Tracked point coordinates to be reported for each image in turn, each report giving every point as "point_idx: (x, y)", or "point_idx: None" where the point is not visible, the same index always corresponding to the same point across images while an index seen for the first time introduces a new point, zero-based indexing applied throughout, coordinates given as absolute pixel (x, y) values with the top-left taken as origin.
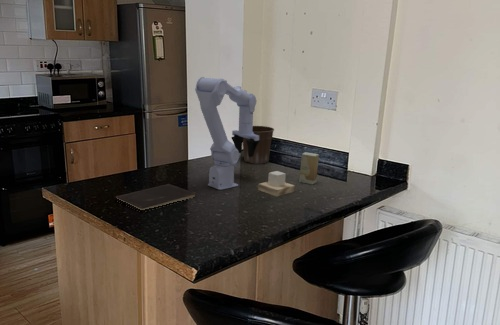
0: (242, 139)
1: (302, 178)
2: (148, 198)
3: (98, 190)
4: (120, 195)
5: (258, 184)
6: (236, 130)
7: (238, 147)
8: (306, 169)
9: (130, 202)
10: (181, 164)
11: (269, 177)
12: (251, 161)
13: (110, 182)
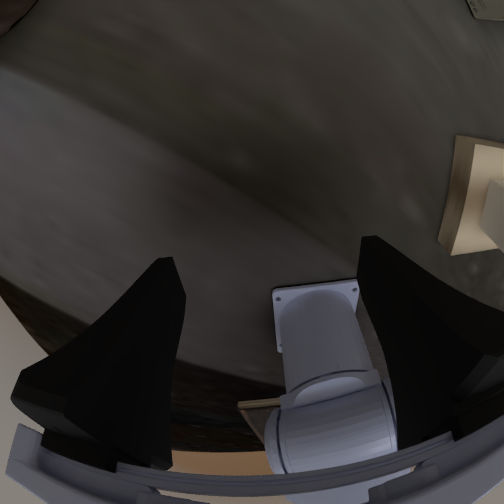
0: (106, 379)
1: (497, 19)
2: None
3: (199, 439)
4: (264, 444)
5: (449, 253)
6: (20, 484)
7: (167, 334)
8: None
9: None
10: (12, 296)
11: (500, 244)
12: (23, 10)
13: None
